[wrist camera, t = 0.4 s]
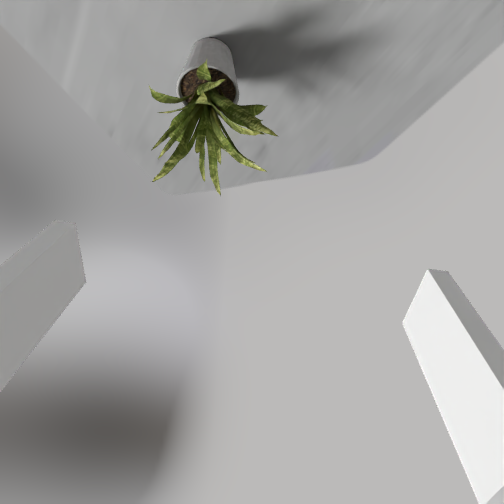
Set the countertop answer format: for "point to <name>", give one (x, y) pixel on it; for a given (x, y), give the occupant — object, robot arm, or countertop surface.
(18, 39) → the countertop surface
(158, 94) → the house plant
